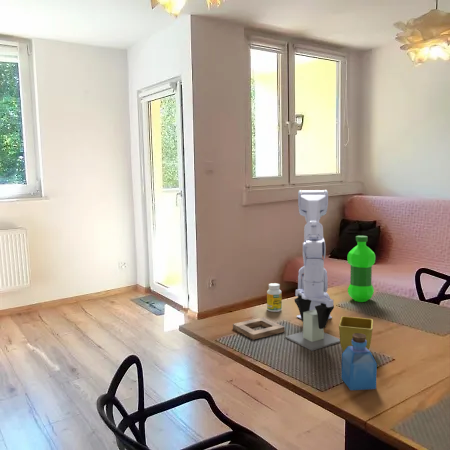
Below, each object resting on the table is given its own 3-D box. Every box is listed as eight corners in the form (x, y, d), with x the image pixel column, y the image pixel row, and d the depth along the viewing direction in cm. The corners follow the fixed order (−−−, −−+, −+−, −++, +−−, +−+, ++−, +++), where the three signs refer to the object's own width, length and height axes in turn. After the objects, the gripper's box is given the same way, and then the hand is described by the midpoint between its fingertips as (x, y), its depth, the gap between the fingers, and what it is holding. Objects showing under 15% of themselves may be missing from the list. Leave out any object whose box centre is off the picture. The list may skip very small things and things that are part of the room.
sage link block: (314, 334, 141) (314, 309, 140) (323, 338, 137) (323, 312, 136) (303, 337, 139) (303, 312, 138) (312, 341, 135) (312, 315, 134)
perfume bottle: (341, 378, 113) (342, 331, 111) (365, 376, 113) (366, 330, 112) (350, 390, 107) (351, 341, 105) (376, 388, 107) (377, 339, 106)
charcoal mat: (314, 330, 146) (314, 328, 146) (342, 341, 136) (342, 340, 136) (285, 337, 140) (285, 336, 140) (311, 350, 130) (311, 349, 130)
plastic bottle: (344, 296, 183) (345, 234, 180) (371, 296, 182) (373, 234, 179) (348, 303, 173) (349, 238, 170) (377, 304, 172) (378, 238, 169)
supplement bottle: (275, 306, 171) (275, 281, 170) (284, 310, 167) (284, 284, 166) (264, 309, 168) (263, 284, 167) (273, 313, 164) (273, 287, 163)
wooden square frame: (263, 321, 155) (263, 317, 155) (284, 331, 145) (284, 326, 145) (232, 328, 149) (232, 323, 149) (253, 339, 139) (253, 334, 139)
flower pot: (372, 349, 130) (373, 318, 129) (371, 361, 122) (372, 328, 121) (341, 345, 133) (341, 315, 132) (338, 357, 125) (338, 325, 124)
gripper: (287, 277, 140) (287, 320, 142) (320, 287, 128) (320, 334, 129) (305, 274, 143) (305, 316, 145) (339, 283, 131) (338, 329, 133)
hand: (313, 324), depth 137 cm, fingers open, 7 cm apart
